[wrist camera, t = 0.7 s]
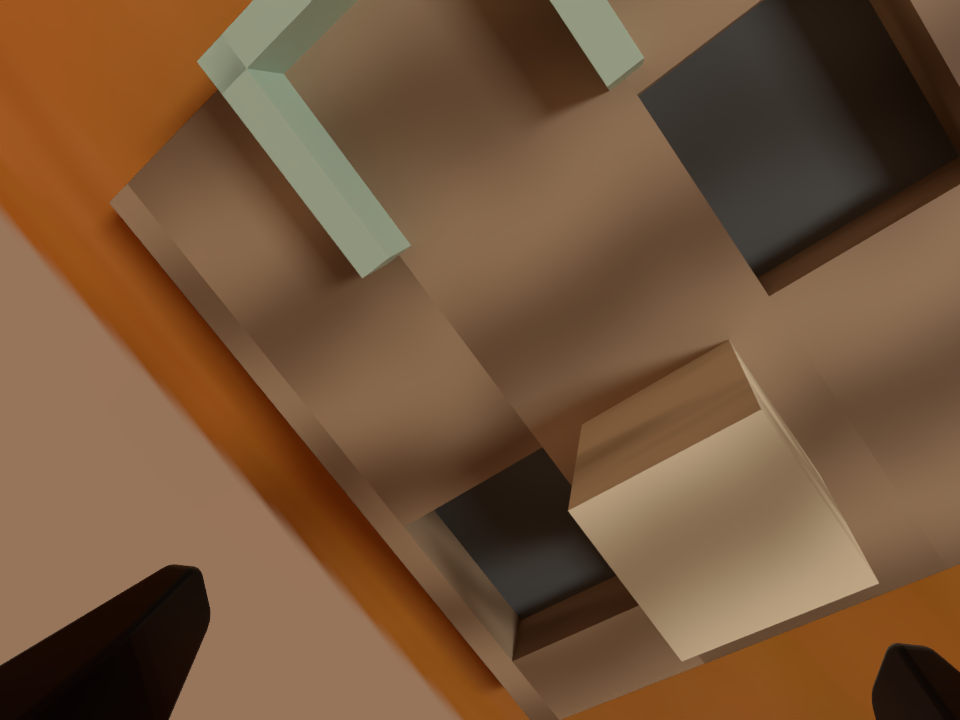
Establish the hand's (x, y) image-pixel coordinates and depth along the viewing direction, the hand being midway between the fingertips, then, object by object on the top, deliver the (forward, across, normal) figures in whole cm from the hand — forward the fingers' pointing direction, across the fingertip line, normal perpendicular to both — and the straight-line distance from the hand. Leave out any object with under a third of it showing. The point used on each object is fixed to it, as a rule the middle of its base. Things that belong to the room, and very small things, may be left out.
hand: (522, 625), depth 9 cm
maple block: (+11, -4, +4) cm, 13 cm away
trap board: (+14, -2, 0) cm, 14 cm away
